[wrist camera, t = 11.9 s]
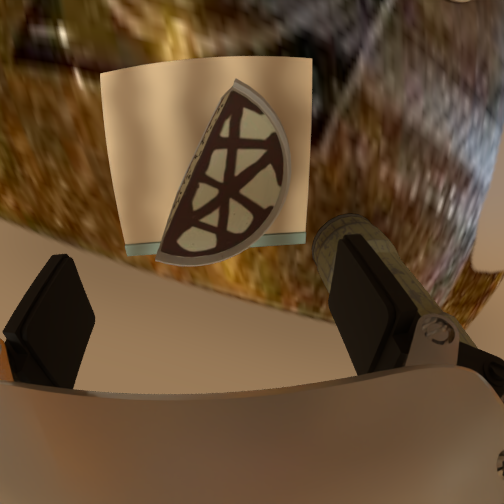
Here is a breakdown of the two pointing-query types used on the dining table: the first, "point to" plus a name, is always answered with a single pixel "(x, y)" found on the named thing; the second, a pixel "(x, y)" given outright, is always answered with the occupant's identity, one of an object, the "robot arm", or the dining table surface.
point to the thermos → (356, 224)
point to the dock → (196, 135)
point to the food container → (229, 183)
